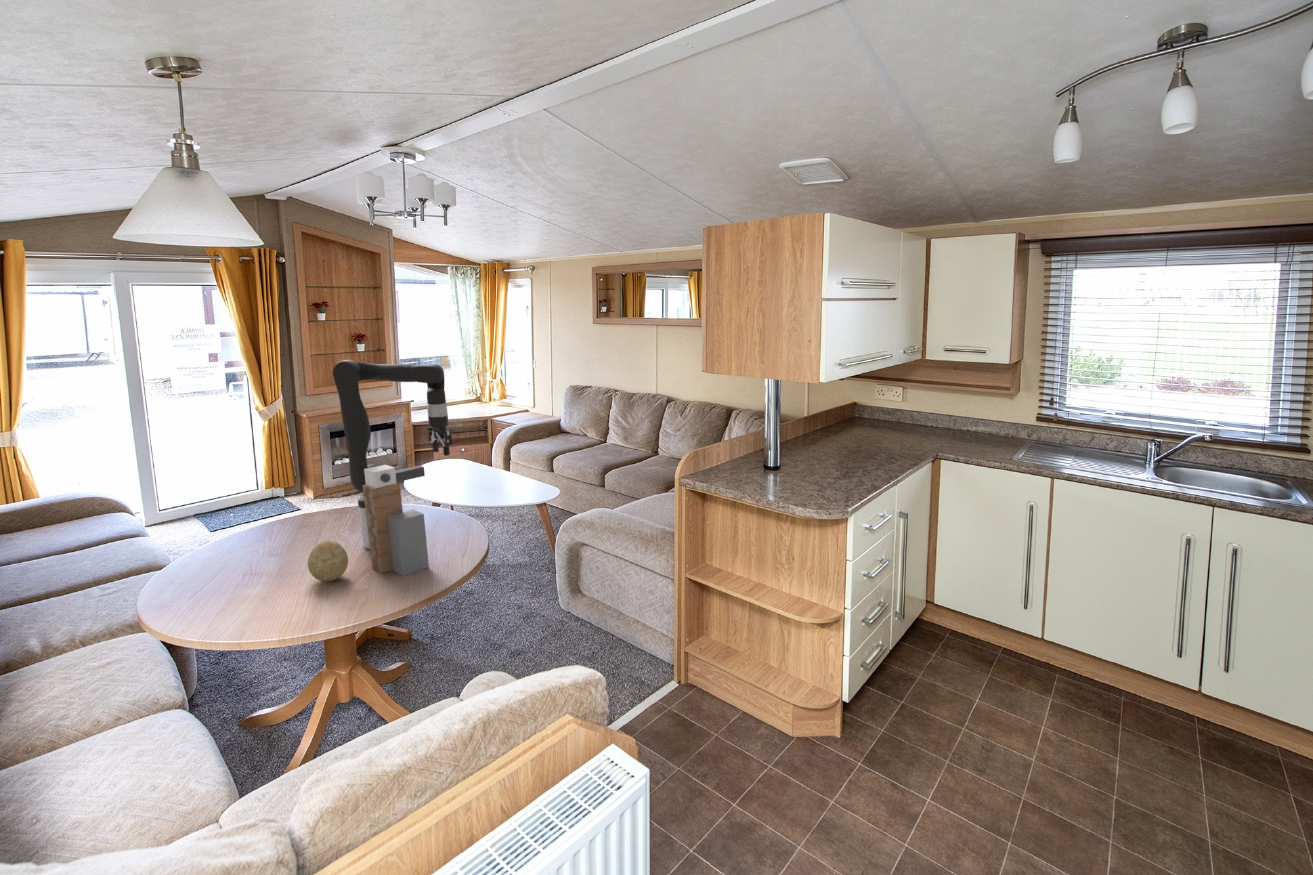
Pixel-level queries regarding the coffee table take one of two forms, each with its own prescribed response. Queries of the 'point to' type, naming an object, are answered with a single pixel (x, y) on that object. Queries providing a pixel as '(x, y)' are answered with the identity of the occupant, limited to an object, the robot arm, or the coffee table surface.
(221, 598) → the coffee table surface
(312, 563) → the fossilized egg
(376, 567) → the walnut post
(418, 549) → the grey rectangular block
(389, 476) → the action camera
